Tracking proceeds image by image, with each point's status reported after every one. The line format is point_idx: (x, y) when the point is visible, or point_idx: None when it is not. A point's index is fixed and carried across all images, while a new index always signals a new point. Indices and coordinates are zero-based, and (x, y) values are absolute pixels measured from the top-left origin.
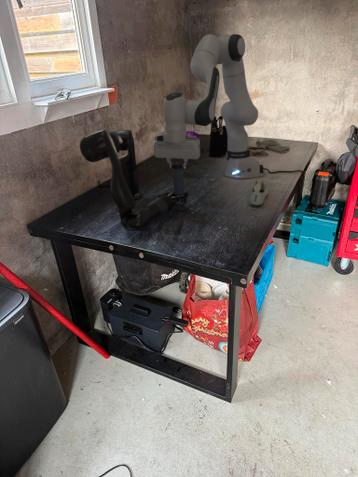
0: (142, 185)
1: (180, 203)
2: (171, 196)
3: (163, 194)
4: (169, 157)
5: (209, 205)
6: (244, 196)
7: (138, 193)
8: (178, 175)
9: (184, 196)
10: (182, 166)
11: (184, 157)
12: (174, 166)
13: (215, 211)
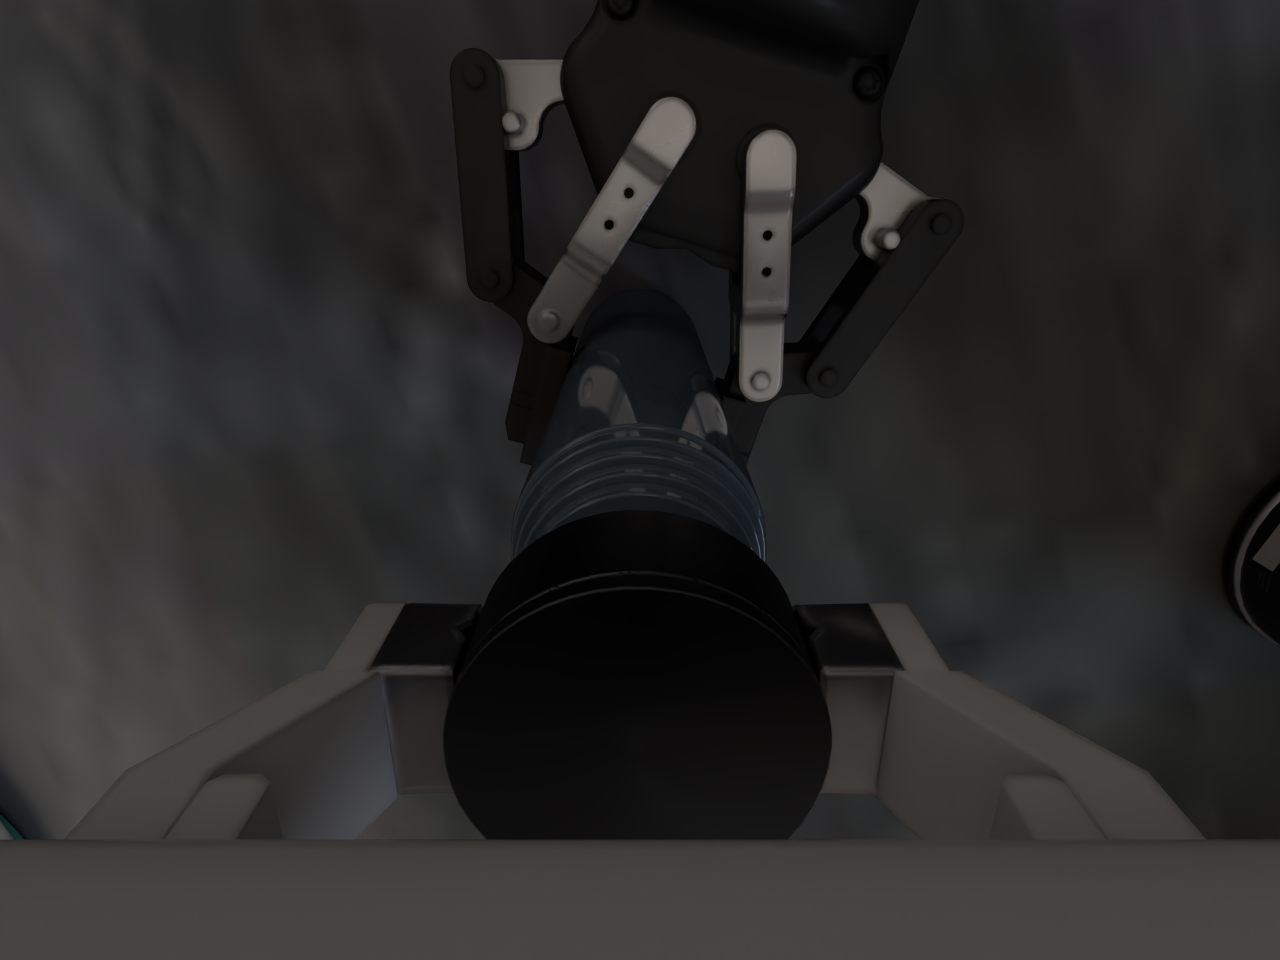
0: (1242, 836)
1: (502, 60)
2: (722, 242)
3: (882, 289)
4: (1077, 865)
5: (335, 501)
6: (81, 767)
7: (1276, 557)
8: (586, 443)
9: (500, 277)
10: (432, 639)
11: (2, 897)
12: (707, 559)
13: (202, 363)
